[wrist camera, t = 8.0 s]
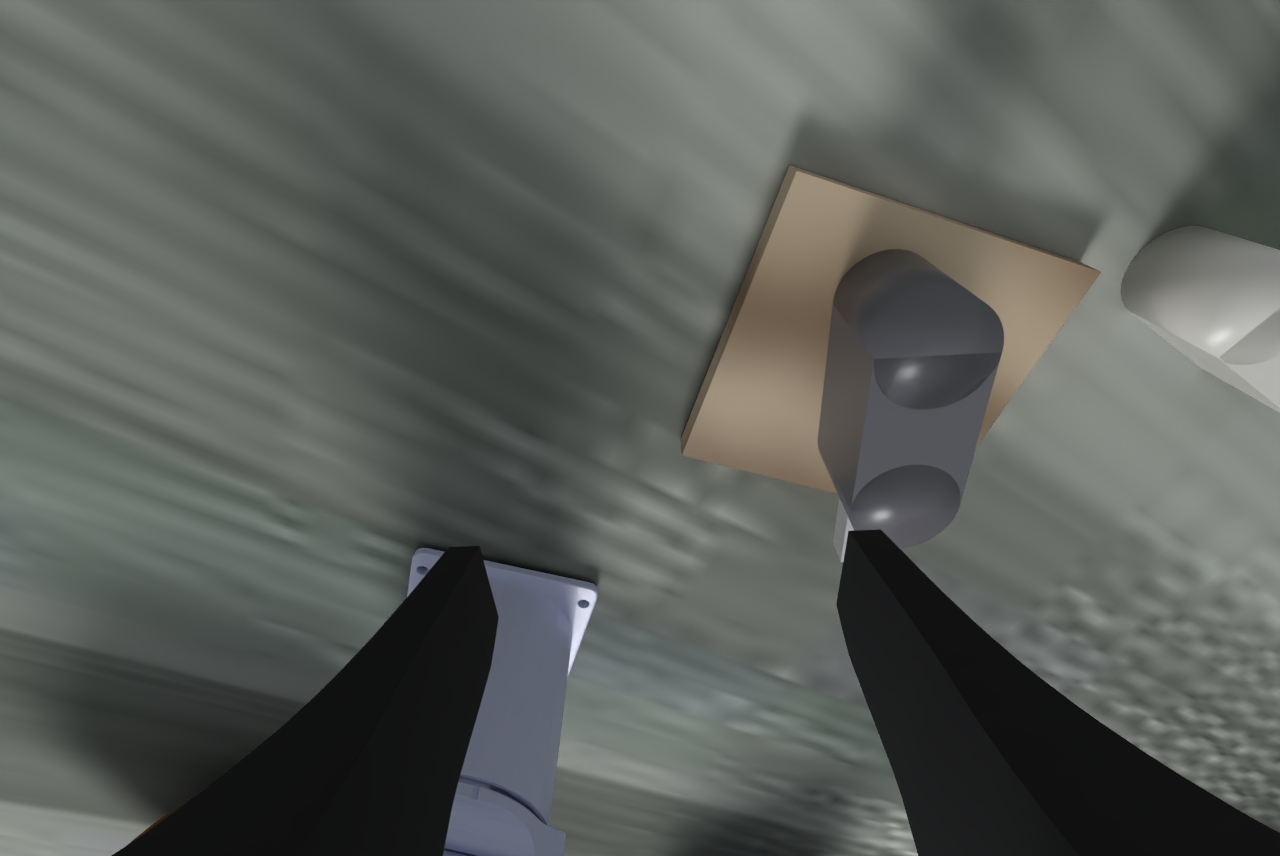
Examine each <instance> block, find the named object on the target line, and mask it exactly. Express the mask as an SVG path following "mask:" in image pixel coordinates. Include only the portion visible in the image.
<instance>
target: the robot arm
mask: <svg viewBox="0 0 1280 856" xmlns="http://www.w3.org/2000/svg"><path fill="white" fill-rule="evenodd" d="M421 566H424V567H426V568H423V567H421ZM597 597H598V588H597V586H596V585H594V584H592V583H590V582H585V581H580V580H576V579H571V578H566V577H562V576H557V575H552V574H547V573H543V572H538V571H533V570H529V569H524V568H519V567H515V566H510V565H505V564H500V563H496V562H491V561H486V560H483V557H482V553H481V550H480V546H468V547H449V548H448V549H447V550H446V551H445V552H444V551H439V550H434V549H430V548H420V549H418V550H416V551H415V553H414V556H413V558H412V563H411V570H410V578H409V585H408V593H407V598H406V599H405V600H404V602H403V603H402V604H401V605H400V606H399V607H398V609H397V610H396V611H395V612H394V613H393V614H392V615H391V617H390V618H389V619H388V620H387V621H386V622H385V623H384V625H383V626H382V627H381V628H380V629H379V630H378V631H377V633H376V634H375V635H374V636H373V637H372V638H371V639H370V640H369V641H368V643H367V644H366V645H365V646H364V647H363V648H362V649H361V650H360V651H359V652H358V653H357V654H356V655H355V656H354V657H353V658H352V659H351V660H350V662H349V663H348V664H347V665H346V666H345V667H344V668H343V669H342V670H341V671H340V672H339V673H338V674H337V675H336V676H335V677H334V678H333V679H332V680H331V681H330V682H329V683H328V684H327V685H326V686H325V687H324V688H323V689H322V690H321V691H320V692H319V693H318V694H317V695H316V696H315V697H314V698H313V699H312V700H311V701H310V702H309V703H307V704H306V705H305V706H304V707H303V708H302V709H301V710H300V711H299V712H298V713H297V714H296V715H294V716H293V717H292V718H291V719H290V720H289V721H288V722H287V723H286V724H285V725H283V726H282V727H281V728H280V729H279V730H278V731H276V732H275V733H274V734H273V735H272V736H271V737H269V738H268V739H267V740H266V741H264V742H263V743H262V744H261V745H260V746H258V747H257V748H256V749H255V750H253V751H252V752H251V753H250V754H249V755H247V756H246V757H245V758H244V759H243V760H241V761H240V762H239V763H238V764H236V765H235V766H234V767H233V768H232V769H230V770H229V771H228V772H227V773H225V774H224V775H223V776H222V777H220V778H219V779H218V780H217V781H215V782H214V783H213V784H211V785H210V786H209V787H207V788H206V789H205V790H203V791H202V792H201V793H200V794H198V795H197V796H196V797H194V798H193V799H192V800H190V801H189V802H188V803H186V804H185V805H184V806H182V807H181V808H179V809H178V810H177V811H175V812H174V813H172V814H171V815H170V816H168V817H167V818H166V819H164V820H163V821H161V822H160V823H159V824H157V825H156V826H154V827H153V828H152V829H150V830H149V831H147V832H146V833H145V834H143V835H142V836H140V837H139V838H137V839H136V840H134V841H133V842H132V843H130V844H129V845H127V846H126V847H124V848H123V849H121V850H120V851H118V852H117V853H115V854H114V855H112V856H564V848H565V838H566V834H565V833H564V832H563V831H560V830H556V829H554V828H552V827H549V826H550V818H551V809H552V801H553V793H554V784H555V776H556V768H557V760H558V751H559V743H560V735H561V726H562V718H563V710H564V702H565V693H566V685H567V679H568V676H569V673H570V671H571V668H572V665H573V662H574V660H575V657H576V654H577V652H578V649H579V646H580V644H581V641H582V638H583V635H584V633H585V630H586V627H587V625H588V622H589V619H590V617H591V614H592V611H593V608H594V606H595V603H596V600H597ZM582 600H587V601H582ZM837 609H838V613H839V617H840V621H841V625H842V630H843V634H844V637H845V641H846V645H847V649H848V653H849V656H850V659H851V661H852V664H853V667H854V670H855V672H856V675H857V678H858V680H859V683H860V686H861V688H862V691H863V694H864V696H865V699H866V701H867V704H868V707H869V709H870V712H871V714H872V717H873V720H874V722H875V725H876V727H877V730H878V733H879V735H880V738H881V740H882V743H883V746H884V748H885V751H886V754H887V756H888V759H889V761H890V764H891V767H892V769H893V772H894V775H895V778H896V781H897V784H898V787H899V790H900V793H901V796H902V799H903V803H904V806H905V810H906V813H907V817H908V820H909V824H910V828H911V831H912V835H913V838H914V842H915V845H916V849H917V852H918V856H1280V833H1278V832H1277V831H1275V830H1273V829H1271V828H1269V827H1267V826H1266V825H1264V824H1262V823H1260V822H1258V821H1256V820H1255V819H1253V818H1251V817H1249V816H1248V815H1246V814H1244V813H1242V812H1241V811H1239V810H1237V809H1236V808H1234V807H1232V806H1231V805H1229V804H1227V803H1226V802H1224V801H1222V800H1221V799H1219V798H1217V797H1216V796H1214V795H1212V794H1211V793H1209V792H1207V791H1206V790H1204V789H1202V788H1201V787H1199V786H1197V785H1196V784H1194V783H1192V782H1191V781H1189V780H1187V779H1186V778H1184V777H1182V776H1181V775H1179V774H1178V773H1176V772H1175V771H1173V770H1171V769H1170V768H1168V767H1167V766H1165V765H1163V764H1162V763H1160V762H1159V761H1157V760H1156V759H1154V758H1152V757H1151V756H1149V755H1148V754H1146V753H1145V752H1143V751H1142V750H1140V749H1139V748H1137V747H1136V746H1134V745H1133V744H1131V743H1130V742H1128V741H1127V740H1126V739H1124V738H1123V737H1121V736H1120V735H1118V734H1117V733H1115V732H1114V731H1112V730H1111V729H1109V728H1108V727H1106V726H1105V725H1103V724H1102V723H1100V722H1099V721H1098V720H1096V719H1095V718H1093V717H1092V716H1091V715H1089V714H1088V713H1086V712H1085V711H1084V710H1082V709H1081V708H1079V707H1078V706H1077V705H1075V704H1074V703H1073V702H1071V701H1070V700H1069V699H1067V698H1066V697H1065V696H1063V695H1062V694H1061V693H1059V692H1058V691H1057V690H1056V689H1054V688H1053V687H1052V686H1050V685H1049V684H1048V683H1046V682H1045V681H1044V680H1042V679H1041V678H1040V677H1038V676H1037V675H1036V674H1035V673H1033V672H1032V671H1031V670H1030V669H1028V668H1027V667H1026V666H1025V665H1023V664H1022V663H1021V662H1020V661H1018V660H1017V659H1016V658H1015V657H1014V656H1013V655H1011V654H1010V653H1009V652H1008V651H1007V650H1006V649H1004V648H1003V647H1002V646H1001V645H1000V644H999V643H997V642H996V641H995V640H994V639H993V638H992V637H991V636H989V635H988V634H987V633H986V632H985V631H984V630H983V629H982V628H981V627H979V626H978V625H977V624H976V623H975V622H974V621H973V620H972V619H971V618H970V617H969V616H968V615H966V614H965V613H964V612H963V611H962V610H961V609H960V608H959V607H958V606H957V605H956V604H955V603H954V602H953V601H952V600H951V599H950V598H948V597H947V596H946V595H945V594H944V593H943V592H942V591H941V590H940V589H939V588H938V587H937V586H936V585H935V584H934V583H933V582H932V581H931V580H930V579H929V578H928V577H927V576H926V575H925V574H924V573H923V572H922V571H921V570H920V569H919V568H918V567H917V566H916V565H915V564H914V563H913V562H912V561H911V560H910V559H909V558H908V557H907V556H906V555H905V554H904V552H903V551H902V550H901V549H900V548H899V547H898V546H897V545H896V544H895V543H894V542H893V541H892V540H891V539H890V538H889V537H888V536H887V535H886V534H885V533H884V532H883V531H882V530H881V529H879V530H855V531H848V537H847V543H846V549H845V555H844V562H843V568H842V574H841V580H840V586H839V592H838V599H837Z"/></svg>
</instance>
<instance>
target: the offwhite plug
mask: <svg viewBox="0 0 1280 856" xmlns="http://www.w3.org/2000/svg"><path fill="white" fill-rule="evenodd" d="M1121 297H1122V301H1123V303H1124V305H1125V307H1126V308H1127V309H1128V310H1129V311H1130V312H1131V313H1132V314H1134V315H1135V316H1136V317H1138V318H1139V319H1140V320H1141V321H1143V322H1144V323H1145V324H1146V325H1148V326H1149V327H1150V328H1151V329H1153V330H1154V331H1155V332H1156V333H1158V334H1159V335H1160V336H1162V337H1163V338H1164V339H1165V340H1167V341H1168V342H1169V343H1170V344H1172V345H1173V346H1174V347H1175V348H1177V349H1178V350H1179V351H1181V352H1182V353H1183V354H1184V355H1186V356H1187V357H1188V358H1189V359H1191V360H1192V361H1193V362H1194V363H1196V364H1197V365H1198V366H1199V367H1201V368H1202V369H1204V370H1205V371H1207V372H1209V373H1210V374H1212V375H1214V376H1216V377H1217V378H1219V379H1221V380H1223V381H1224V382H1226V383H1228V384H1230V385H1232V386H1233V387H1235V388H1237V389H1239V390H1240V391H1242V392H1244V393H1246V394H1248V395H1249V396H1251V397H1253V398H1255V399H1256V400H1258V401H1260V402H1262V403H1264V404H1265V405H1267V406H1269V407H1271V408H1272V409H1274V410H1276V411H1278V412H1279V413H1280V250H1278V249H1275V248H1272V247H1268V246H1265V245H1262V244H1259V243H1255V242H1252V241H1249V240H1246V239H1242V238H1239V237H1236V236H1233V235H1229V234H1226V233H1223V232H1220V231H1216V230H1213V229H1210V228H1207V227H1203V226H1185V227H1181V228H1177V229H1174V230H1171V231H1169V232H1167V233H1165V234H1163V235H1161V236H1159V237H1157V238H1156V239H1154V240H1153V241H1152V242H1150V243H1149V244H1148V245H1147V246H1145V247H1144V248H1143V249H1142V250H1141V251H1140V252H1139V253H1138V254H1137V255H1136V257H1135V258H1134V259H1133V260H1132V262H1131V263H1130V265H1129V266H1128V268H1127V270H1126V272H1125V275H1124V277H1123V280H1122V284H1121Z"/></svg>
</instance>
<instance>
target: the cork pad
mask: <svg viewBox="0 0 1280 856" xmlns="http://www.w3.org/2000/svg"><path fill="white" fill-rule="evenodd" d="M890 249H902V250H908V251H911V252H914V253H916V254H918V255H920V256H921V257H923V258H924V259H926V260H927V261H928V262H930V263H931V264H933V265H934V266H935V267H937V268H938V269H939V270H941V271H942V272H944V273H945V274H946V275H948V276H949V277H950V278H952V279H953V280H955V281H956V282H957V283H959V284H960V285H961V286H963V287H964V288H966V289H967V290H968V291H970V292H971V293H973V294H974V295H975V296H977V297H978V298H979V299H981V300H982V301H984V302H985V303H986V304H988V305H989V306H990V307H991V308H992V309H993V310H994V311H995V312H996V314H997V315H998V316H999V318H1000V320H1001V323H1002V326H1003V330H1004V346H1003V351H1002V355H1001V358H1000V362H999V366H998V369H997V373H996V376H995V380H994V384H993V387H992V391H991V394H990V398H989V402H988V405H987V409H986V412H985V416H984V420H983V423H982V427H981V430H980V434H979V438H978V441H977V445H976V447H977V446H978V444H979V443H980V442H981V440H982V439H983V437H984V436H985V435H986V433H987V432H988V430H989V429H990V428H991V426H992V425H993V423H994V422H995V421H996V419H997V418H998V416H999V415H1000V414H1001V412H1002V411H1003V409H1004V408H1005V406H1006V405H1007V404H1008V402H1009V401H1010V399H1011V398H1012V397H1013V395H1014V394H1015V392H1016V391H1017V390H1018V388H1019V387H1020V385H1021V384H1022V383H1023V381H1024V380H1025V378H1026V377H1027V376H1028V374H1029V373H1030V371H1031V370H1032V368H1033V367H1034V366H1035V364H1036V363H1037V361H1038V360H1039V359H1040V357H1041V356H1042V354H1043V353H1044V352H1045V350H1046V349H1047V347H1048V346H1049V345H1050V343H1051V342H1052V340H1053V339H1054V338H1055V336H1056V335H1057V333H1058V332H1059V330H1060V329H1061V328H1062V326H1063V325H1064V323H1065V322H1066V321H1067V319H1068V318H1069V316H1070V315H1071V314H1072V312H1073V311H1074V309H1075V308H1076V307H1077V305H1078V304H1079V302H1080V301H1081V300H1082V298H1083V297H1084V295H1085V294H1086V293H1087V291H1088V290H1089V288H1090V287H1091V285H1092V284H1093V283H1094V281H1095V280H1096V278H1097V277H1098V276H1099V274H1100V273H1101V272H1100V271H1098V270H1096V269H1094V268H1092V267H1089V266H1087V265H1085V264H1083V263H1081V262H1078V261H1075V260H1072V259H1069V258H1066V257H1063V256H1060V255H1057V254H1054V253H1051V252H1048V251H1045V250H1042V249H1039V248H1036V247H1033V246H1030V245H1027V244H1024V243H1021V242H1018V241H1015V240H1012V239H1009V238H1006V237H1003V236H1000V235H997V234H994V233H991V232H988V231H985V230H982V229H979V228H976V227H973V226H970V225H967V224H964V223H961V222H958V221H955V220H952V219H949V218H946V217H943V216H940V215H937V214H934V213H931V212H928V211H925V210H922V209H919V208H916V207H913V206H910V205H907V204H904V203H901V202H898V201H895V200H892V199H889V198H886V197H883V196H880V195H877V194H874V193H871V192H868V191H865V190H862V189H859V188H856V187H853V186H850V185H847V184H844V183H841V182H838V181H835V180H832V179H829V178H826V177H823V176H820V175H817V174H814V173H811V172H808V171H805V170H802V169H799V168H796V167H794V166H791V165H789V167H788V170H787V172H786V175H785V177H784V180H783V182H782V185H781V187H780V190H779V193H778V195H777V198H776V200H775V203H774V205H773V208H772V210H771V213H770V215H769V218H768V220H767V223H766V225H765V228H764V230H763V233H762V235H761V238H760V240H759V243H758V246H757V248H756V251H755V253H754V256H753V258H752V261H751V263H750V266H749V268H748V271H747V273H746V276H745V278H744V281H743V283H742V286H741V288H740V291H739V294H738V296H737V299H736V301H735V304H734V306H733V309H732V311H731V314H730V316H729V319H728V321H727V324H726V326H725V329H724V331H723V334H722V336H721V339H720V341H719V344H718V347H717V349H716V352H715V354H714V357H713V359H712V362H711V364H710V367H709V369H708V372H707V374H706V377H705V379H704V382H703V384H702V387H701V389H700V392H699V394H698V397H697V400H696V402H695V405H694V407H693V410H692V412H691V415H690V417H689V420H688V422H687V425H686V427H685V430H684V432H683V435H682V437H681V440H680V441H681V452H682V455H683V456H687V457H691V458H695V459H699V460H703V461H707V462H711V463H715V464H719V465H723V466H727V467H731V468H735V469H739V470H743V471H747V472H751V473H755V474H759V475H763V476H767V477H771V478H775V479H779V480H783V481H787V482H791V483H795V484H799V485H803V486H807V487H811V488H815V489H819V490H823V491H827V492H831V493H835V494H838V493H837V491H836V489H835V486H834V484H833V482H832V480H831V477H830V475H829V473H828V471H827V468H826V466H825V464H824V462H823V459H822V457H821V455H820V453H819V449H818V431H819V422H820V413H821V404H822V395H823V386H824V377H825V368H826V359H827V350H828V341H829V332H830V323H831V314H832V305H833V299H834V295H835V292H836V289H837V287H838V285H839V283H840V282H841V280H842V278H843V277H844V276H845V274H846V273H847V272H848V271H849V270H850V269H851V268H852V267H853V266H854V265H855V264H857V263H858V262H859V261H861V260H862V259H864V258H865V257H867V256H869V255H871V254H874V253H877V252H880V251H884V250H890ZM975 449H976V448H975Z"/></svg>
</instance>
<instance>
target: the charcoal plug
mask: <svg viewBox="0 0 1280 856" xmlns="http://www.w3.org/2000/svg"><path fill="white" fill-rule="evenodd" d="M1003 346H1004V330H1003V326H1002V323H1001V320H1000V318H999V316H998V315H997V314H996V312H995V311H994V310H993V309H992V308H991V307H990V306H989V305H988V304H986V303H985V302H984V301H982V300H981V299H979V298H978V297H977V296H975V295H974V294H973V293H971V292H970V291H968V290H967V289H966V288H964V287H963V286H961V285H960V284H959V283H957V282H956V281H955V280H953V279H952V278H950V277H949V276H948V275H946V274H945V273H944V272H942V271H941V270H939V269H938V268H937V267H935V266H934V265H933V264H931V263H930V262H928V261H927V260H926V259H924V258H923V257H921V256H920V255H918V254H916V253H914V252H911V251H908V250H902V249H890V250H884V251H880V252H877V253H874V254H871V255H869V256H867V257H865V258H864V259H862V260H861V261H859V262H858V263H857V264H855V265H854V266H853V267H852V268H851V269H850V270H849V271H848V272H847V273H846V274H845V276H844V277H843V278H842V280H841V282H840V283H839V285H838V287H837V289H836V292H835V295H834V299H833V305H832V314H831V323H830V332H829V341H828V350H827V359H826V368H825V377H824V386H823V395H822V404H821V413H820V422H819V431H818V449H819V453H820V455H821V457H822V459H823V462H824V464H825V466H826V468H827V471H828V473H829V475H830V477H831V480H832V482H833V484H834V486H835V489H836V491H837V493H838V495H839V505H838V512H837V519H836V526H835V533H834V540H833V544H834V546H835V549H836V552H837V554H838V557H839V559H840V562H844V555H845V549H846V543H847V537H848V531H855V530H879V529H881V530H882V531H883V532H884V533H885V534H886V535H887V536H888V537H889V538H890V539H891V540H892V541H893V542H894V543H895V544H896V545H897V546H898V547H899V548H904V547H910V546H913V545H917V544H920V543H922V542H925V541H927V540H929V539H931V538H932V537H934V536H936V535H937V534H939V533H940V532H941V531H942V530H944V529H945V528H946V527H947V526H948V525H949V524H950V522H951V521H952V520H953V518H954V517H955V515H956V513H957V511H958V509H959V506H960V502H961V499H962V495H963V492H964V488H965V484H966V481H967V477H968V474H969V470H970V466H971V463H972V459H973V456H974V452H975V448H976V445H977V441H978V438H979V434H980V430H981V427H982V423H983V420H984V416H985V412H986V409H987V405H988V402H989V398H990V394H991V391H992V387H993V384H994V380H995V376H996V373H997V369H998V366H999V362H1000V358H1001V355H1002V351H1003Z"/></svg>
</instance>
